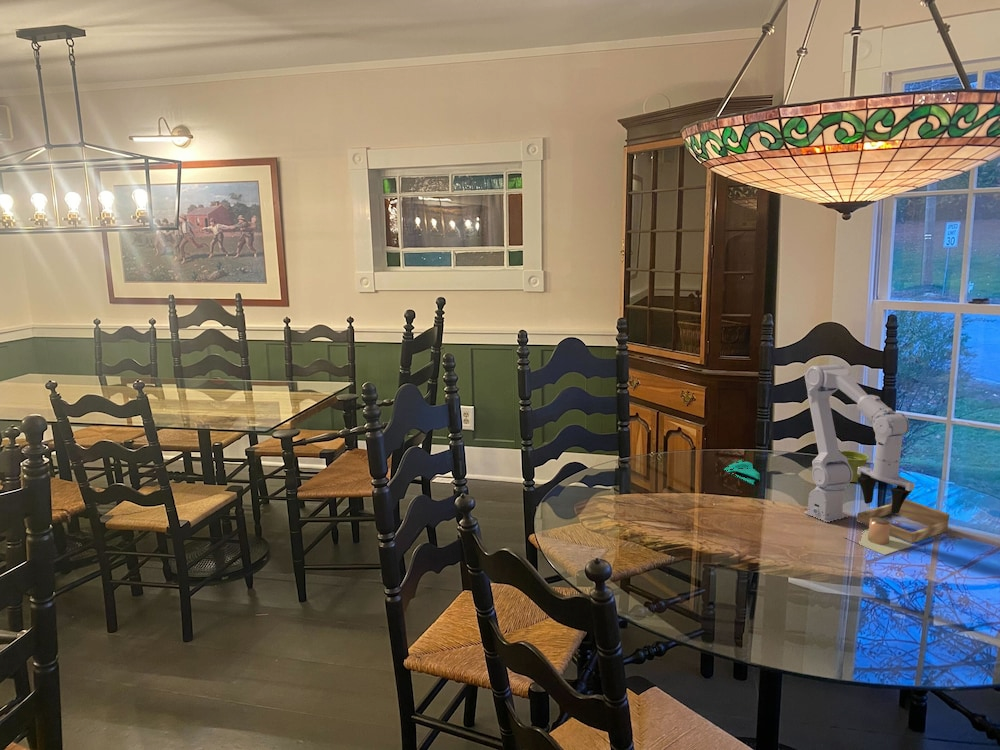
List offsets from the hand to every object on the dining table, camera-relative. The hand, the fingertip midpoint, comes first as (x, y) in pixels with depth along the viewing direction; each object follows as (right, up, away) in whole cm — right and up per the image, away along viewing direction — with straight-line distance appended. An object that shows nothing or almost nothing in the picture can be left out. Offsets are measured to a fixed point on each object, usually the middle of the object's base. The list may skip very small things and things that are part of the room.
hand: (881, 507), depth 184 cm
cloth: (-17, +1, +56) cm, 58 cm away
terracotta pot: (0, -9, +1) cm, 9 cm away
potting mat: (0, -9, +1) cm, 9 cm away
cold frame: (+11, -7, +11) cm, 17 cm away
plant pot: (+16, 0, +47) cm, 50 cm away
